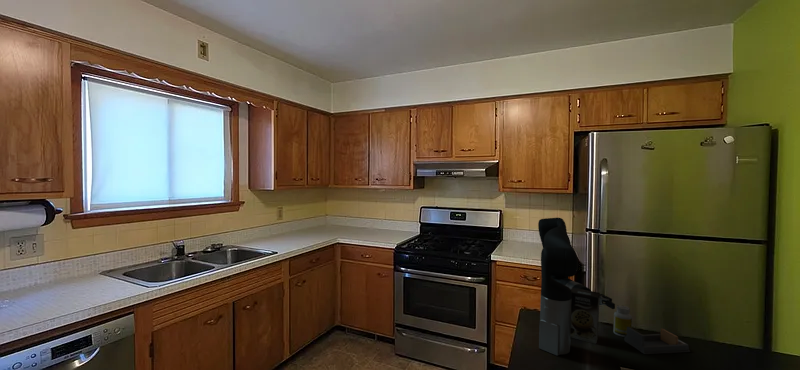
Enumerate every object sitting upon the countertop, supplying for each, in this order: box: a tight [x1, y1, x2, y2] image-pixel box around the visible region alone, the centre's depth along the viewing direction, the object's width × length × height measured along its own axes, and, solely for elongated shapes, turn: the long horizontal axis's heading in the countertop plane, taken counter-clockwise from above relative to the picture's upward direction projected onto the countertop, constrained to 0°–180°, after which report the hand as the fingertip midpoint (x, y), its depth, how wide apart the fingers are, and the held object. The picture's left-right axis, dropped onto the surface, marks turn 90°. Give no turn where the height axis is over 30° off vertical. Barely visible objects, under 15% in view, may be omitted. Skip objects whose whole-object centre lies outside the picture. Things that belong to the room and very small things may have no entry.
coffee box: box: [570, 287, 601, 344], centre depth 122 cm, size 9×6×16 cm
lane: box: [623, 326, 691, 355], centre depth 116 cm, size 16×9×5 cm, turn 96°
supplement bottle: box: [612, 304, 633, 338], centre depth 125 cm, size 5×5×10 cm
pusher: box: [660, 328, 679, 345], centre depth 117 cm, size 1×6×4 cm, turn 6°
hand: (603, 307), depth 134 cm, fingers open, 8 cm apart
